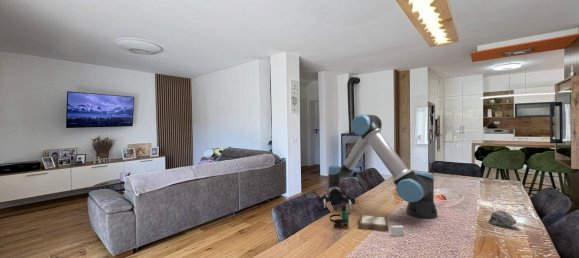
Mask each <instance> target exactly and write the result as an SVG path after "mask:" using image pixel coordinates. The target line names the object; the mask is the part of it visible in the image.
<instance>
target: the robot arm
mask: <svg viewBox="0 0 579 258" xmlns="http://www.w3.org/2000/svg"><path fill="white" fill-rule="evenodd" d="M382 125H383V124H382V120H381V119H380V117H379V116H377V115H375V114H364V113H363V114H358V115H356V116H354V118H353V120H352V122H351V130H352V132H353V133H354V134H355V135H357V136H359V137H358V140H357V141H356V143H355V144H354V146H353V147H352V149H351V151H350V152H349V153H348V156H347V157H346V159H345V161H344V162H343V164H342V165H341V166H339V165H329V166H328V172H327V173H328V175H327V176H328V188H327V192H328V195H327V194H326V193H325V194H323V195H322V196H320V197H318V204H321V205H322V206H323V208H326V203H328V202H335V203H338V202H341V203H346V204H348V207H349V209H351V210H352V207H353V205H355V204H356V199H355V198H353V197H351V196H349V195H348V194H345V195H343V194H342V192H341V180H342V179H347V178H349V177H352V176H353V175H354V169H355V167H356V166H357V164H358V163H359V161H361V158H362V157H363V155H365V154H364V153H365V152H366V151H367V149H368V148H369V146H370V147H371V149H372V150H373V151H374V152H375V154H376V155H377V157H378V158H379V159H380V161H381V162H382V164H383V165H384V166H385V167H386V169H387V170H388V172H389V173H390V174H391V176H392V178H393V181H392V183H393V184H395V186H396V193H397V195H398V196H399V198H400V199H401V200H403V201H405V202H408V203H407V206H406V213H407V214H408V215H410V216H412V217H415V218H420V219H435V218H437V217H438V210H437V207H436V204H435V200H434V198H435V197H434V196H435V195H434V193H435V192H434V191H435V190H434V189H435V187H434V186H435V184H434V183H435V178H434V174H433V173H429V172H424V171H423V172H422V171H415V170H413V169H410V168H408V166H407V165H406V164H405V163H404V162H403V160H402V159H401V158H400V156H399V154H397V153H396V150H394V149H393V147H392V146H391V145H390V143H389V142H388V140H386V138H385V137H384V136H383V134H382V132H381V131H382Z"/></svg>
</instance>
